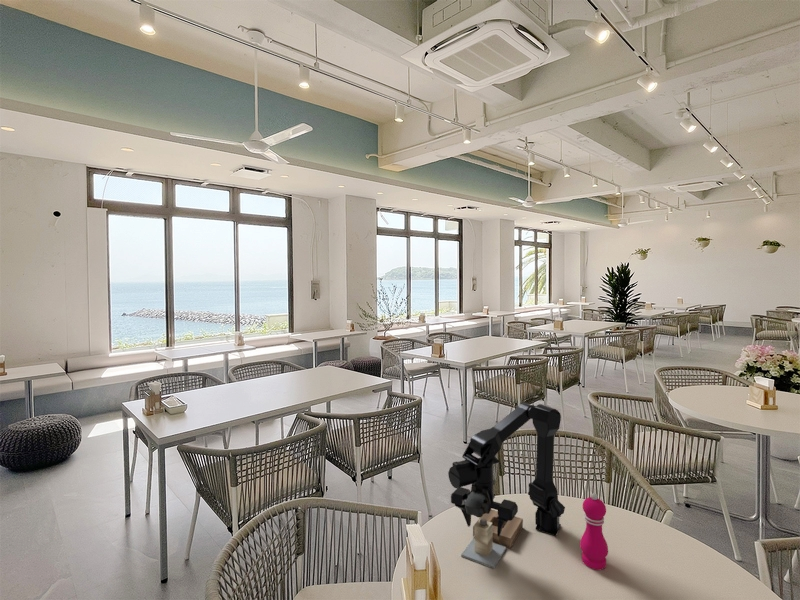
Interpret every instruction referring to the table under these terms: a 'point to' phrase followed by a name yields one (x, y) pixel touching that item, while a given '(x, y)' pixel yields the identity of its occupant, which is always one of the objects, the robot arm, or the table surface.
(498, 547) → the mat
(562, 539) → the table surface
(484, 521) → the plug
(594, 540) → the pepper mill
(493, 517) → the socket block
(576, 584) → the table surface
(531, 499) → the robot arm
